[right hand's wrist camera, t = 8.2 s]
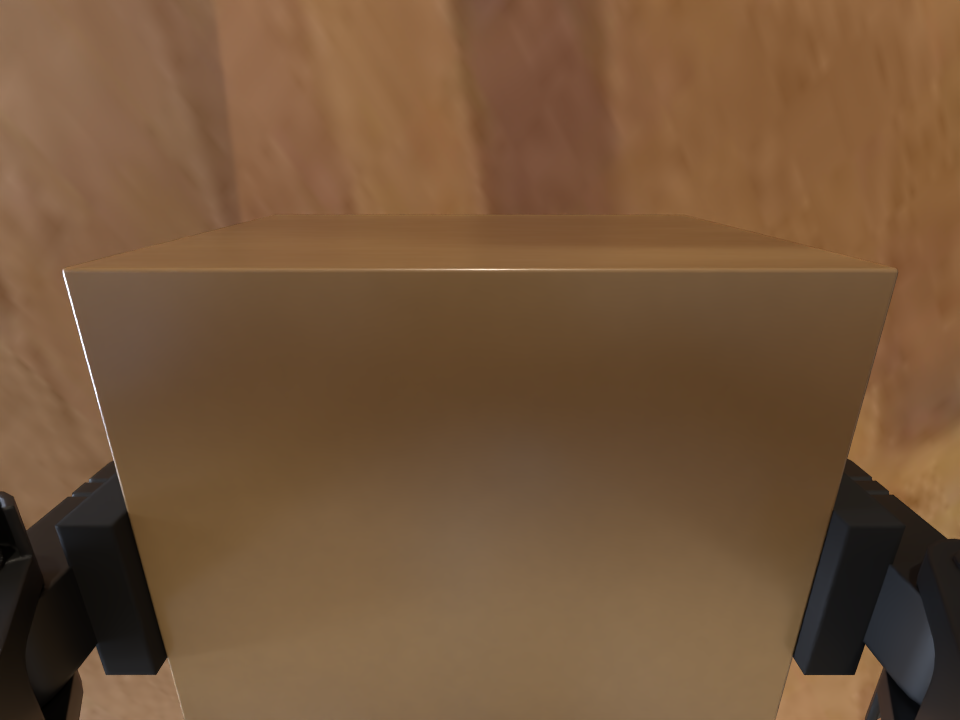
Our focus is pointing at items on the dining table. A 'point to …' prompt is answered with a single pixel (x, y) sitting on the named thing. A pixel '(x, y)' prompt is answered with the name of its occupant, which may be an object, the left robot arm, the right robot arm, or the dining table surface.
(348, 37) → the dining table surface
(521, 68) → the dining table surface
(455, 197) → the dining table surface
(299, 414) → the thick board
